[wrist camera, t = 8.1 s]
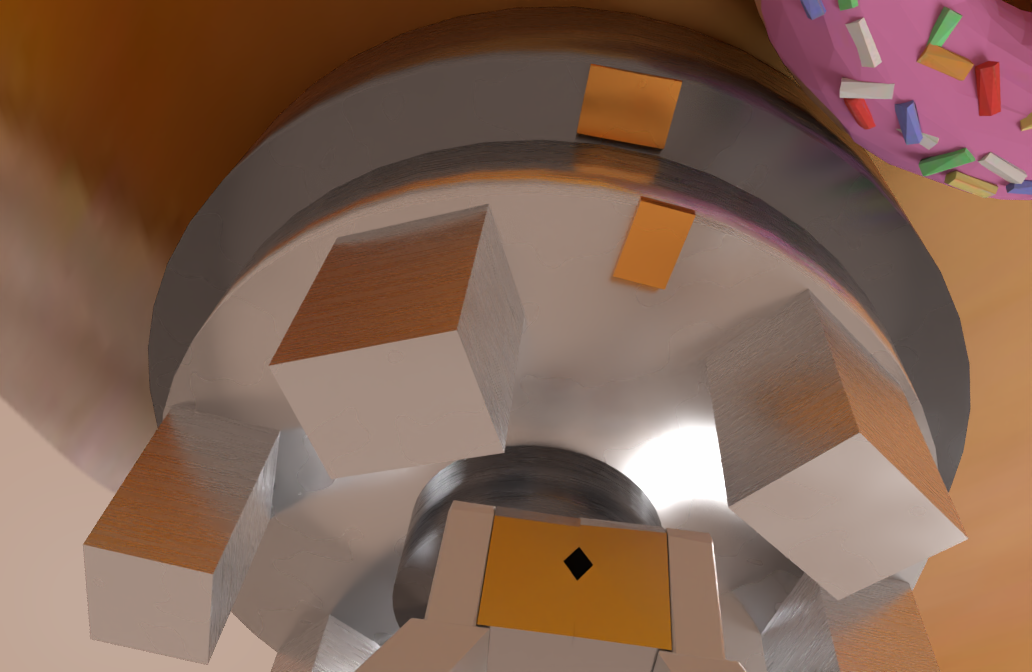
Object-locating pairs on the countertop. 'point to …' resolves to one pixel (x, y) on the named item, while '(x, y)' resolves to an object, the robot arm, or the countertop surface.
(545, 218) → the toothed metal gear
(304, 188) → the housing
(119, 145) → the countertop surface
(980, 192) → the donut
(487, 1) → the countertop surface
